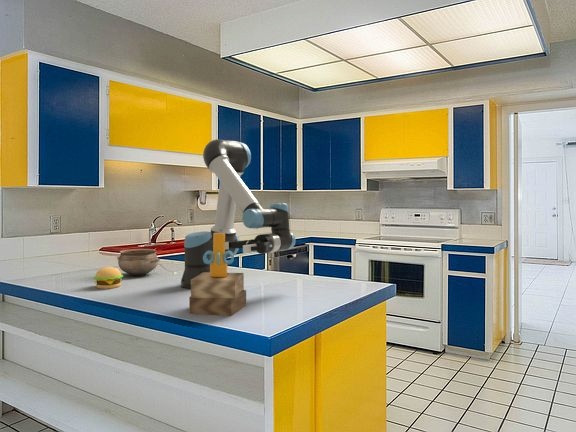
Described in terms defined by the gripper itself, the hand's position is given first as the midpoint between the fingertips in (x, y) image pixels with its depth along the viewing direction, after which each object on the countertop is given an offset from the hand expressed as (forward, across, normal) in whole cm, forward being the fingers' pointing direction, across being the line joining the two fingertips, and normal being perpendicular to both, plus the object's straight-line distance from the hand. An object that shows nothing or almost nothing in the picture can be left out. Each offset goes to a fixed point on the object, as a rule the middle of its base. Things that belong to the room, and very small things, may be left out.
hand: (229, 248), depth 163 cm
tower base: (+5, 0, -21) cm, 22 cm away
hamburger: (+4, +68, -21) cm, 71 cm away
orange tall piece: (+5, 0, -10) cm, 11 cm away
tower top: (+5, +1, -15) cm, 16 cm away
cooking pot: (-21, +82, -21) cm, 87 cm away
